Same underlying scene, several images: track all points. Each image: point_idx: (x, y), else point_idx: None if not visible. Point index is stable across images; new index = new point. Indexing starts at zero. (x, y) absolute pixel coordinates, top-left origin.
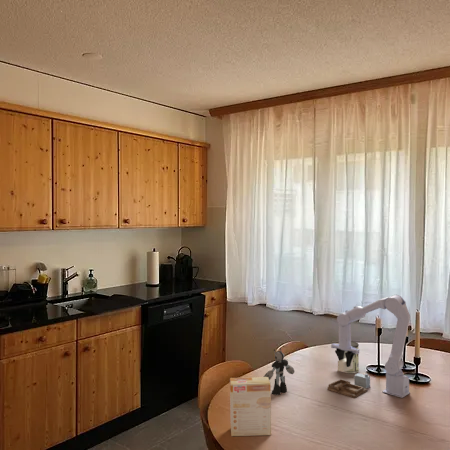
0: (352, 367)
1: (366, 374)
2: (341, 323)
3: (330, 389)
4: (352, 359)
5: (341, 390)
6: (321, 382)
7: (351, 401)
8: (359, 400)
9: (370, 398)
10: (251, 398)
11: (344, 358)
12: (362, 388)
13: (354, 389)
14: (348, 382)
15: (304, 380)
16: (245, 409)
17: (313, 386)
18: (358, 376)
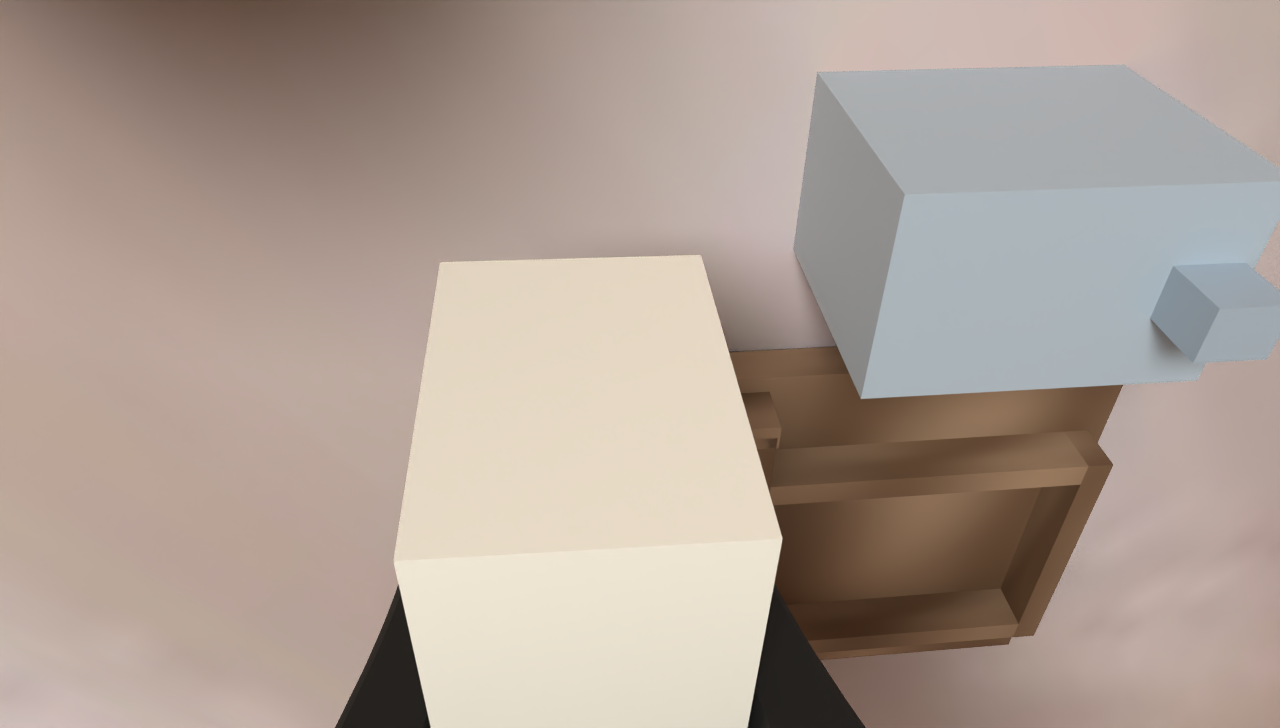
0: (705, 298)
1: (1250, 349)
2: None
3: None
4: (774, 537)
5: None
6: (250, 545)
7: (994, 686)
8: (1077, 621)
9: (1211, 500)
10: None
11: (431, 715)
12: (1095, 494)
13: (933, 504)
14: (764, 466)
15: (5, 652)
16: None
17: (322, 697)
18: (981, 386)
